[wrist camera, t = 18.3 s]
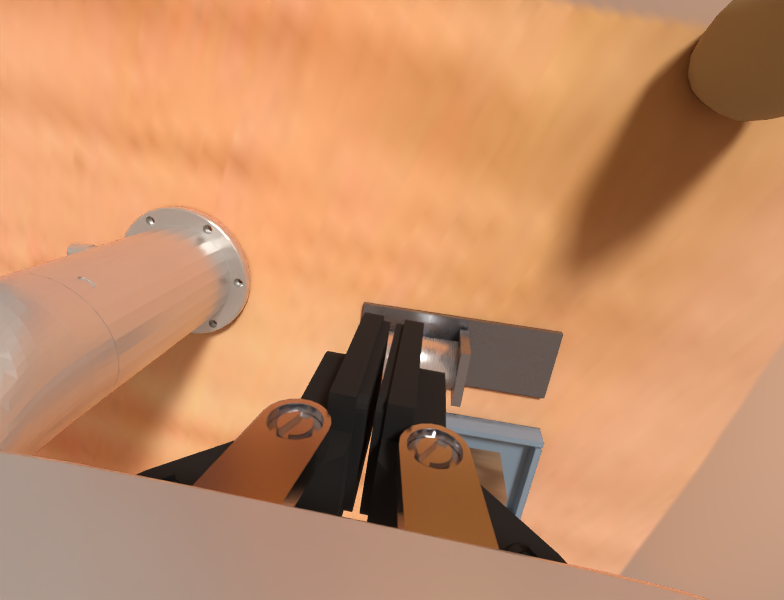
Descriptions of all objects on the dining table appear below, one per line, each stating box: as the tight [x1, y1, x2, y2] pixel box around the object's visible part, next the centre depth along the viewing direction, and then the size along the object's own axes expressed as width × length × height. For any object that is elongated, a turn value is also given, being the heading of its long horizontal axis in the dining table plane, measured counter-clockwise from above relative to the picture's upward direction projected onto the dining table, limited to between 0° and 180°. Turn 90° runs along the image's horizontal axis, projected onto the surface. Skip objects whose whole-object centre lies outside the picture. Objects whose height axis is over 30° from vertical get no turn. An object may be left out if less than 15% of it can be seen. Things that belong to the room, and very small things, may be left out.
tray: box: [446, 413, 544, 519], centre depth 44 cm, size 11×11×2 cm
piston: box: [382, 330, 471, 407], centre depth 38 cm, size 9×5×5 cm, turn 83°
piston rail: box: [363, 302, 563, 398], centre depth 40 cm, size 18×7×1 cm, turn 83°
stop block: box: [469, 447, 507, 506], centre depth 42 cm, size 4×4×6 cm
